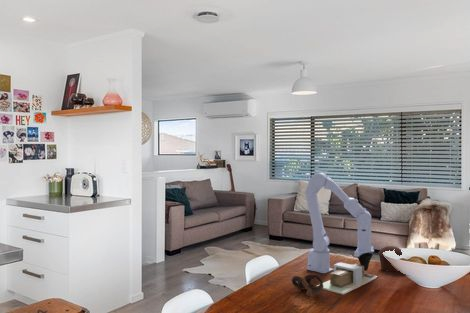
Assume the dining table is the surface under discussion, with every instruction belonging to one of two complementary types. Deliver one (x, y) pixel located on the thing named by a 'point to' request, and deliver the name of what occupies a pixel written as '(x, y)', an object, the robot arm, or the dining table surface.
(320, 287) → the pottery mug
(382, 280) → the dining table surface
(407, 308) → the dining table surface
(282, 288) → the dining table surface
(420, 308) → the dining table surface
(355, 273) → the tunnel
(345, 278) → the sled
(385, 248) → the muffin
